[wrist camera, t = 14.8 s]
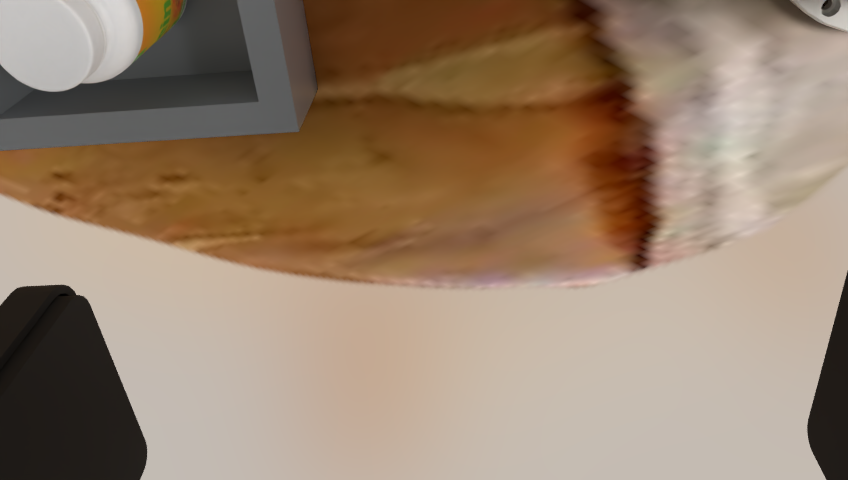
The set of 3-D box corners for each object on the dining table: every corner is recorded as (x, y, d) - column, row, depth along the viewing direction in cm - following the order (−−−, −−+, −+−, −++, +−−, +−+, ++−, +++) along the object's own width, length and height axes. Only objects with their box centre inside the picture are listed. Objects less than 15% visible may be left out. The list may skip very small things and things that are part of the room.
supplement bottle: (158, 56, 38) (75, 136, 30) (60, -13, 36) (-57, 52, 28) (211, -29, 36) (136, 32, 27) (108, -107, 34) (-5, -66, 26)
